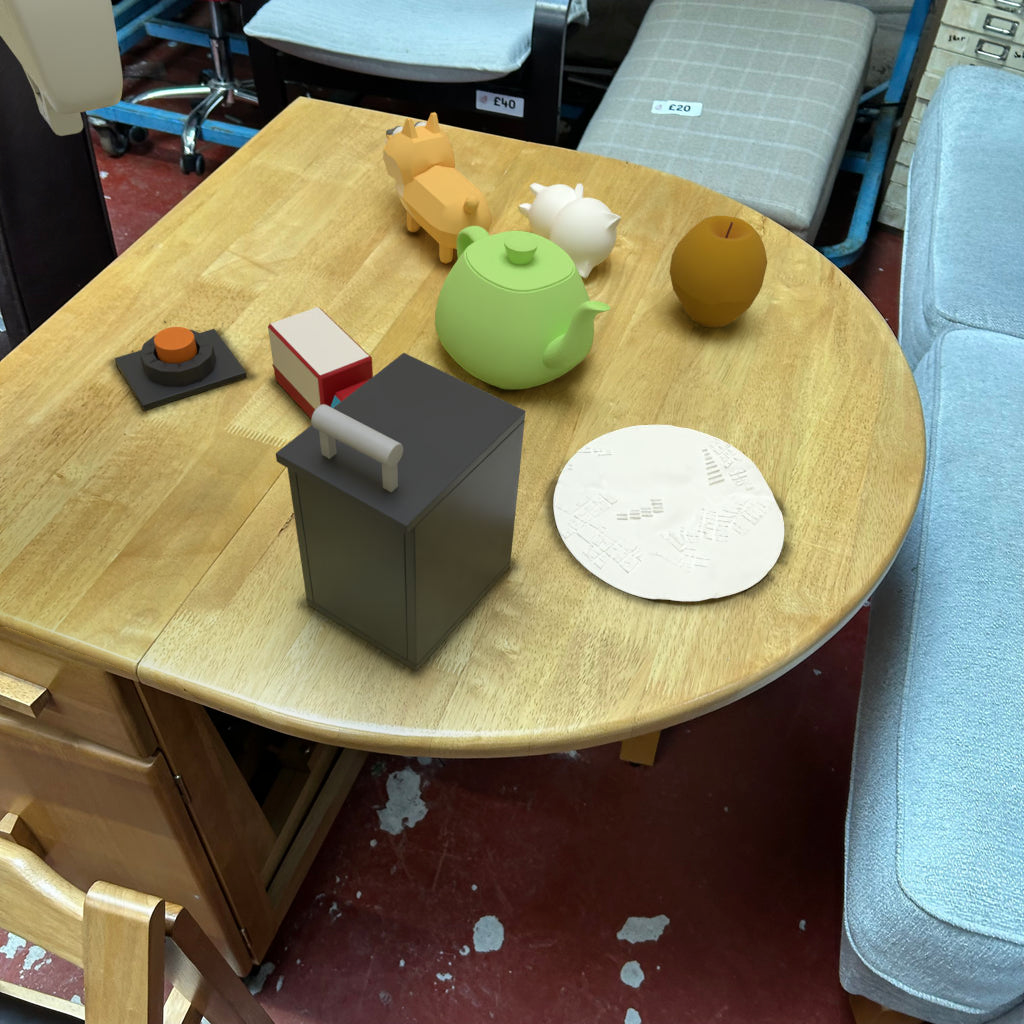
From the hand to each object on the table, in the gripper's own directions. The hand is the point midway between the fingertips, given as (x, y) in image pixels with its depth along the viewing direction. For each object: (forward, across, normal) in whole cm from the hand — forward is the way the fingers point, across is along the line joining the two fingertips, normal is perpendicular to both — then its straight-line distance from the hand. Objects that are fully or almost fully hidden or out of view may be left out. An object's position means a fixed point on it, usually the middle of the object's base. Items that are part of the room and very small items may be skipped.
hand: (63, 125), depth 59 cm
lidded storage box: (+31, +21, +12) cm, 39 cm away
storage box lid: (+15, +21, +12) cm, 29 cm away
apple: (+31, +4, +58) cm, 66 cm away
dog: (+31, -24, +41) cm, 57 cm away
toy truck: (+31, -1, +17) cm, 36 cm away
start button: (+29, -14, +7) cm, 33 cm away
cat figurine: (+31, -13, +53) cm, 63 cm away
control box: (+31, -14, +7) cm, 35 cm away
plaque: (+31, +25, +36) cm, 54 cm away
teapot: (+31, +1, +36) cm, 48 cm away
